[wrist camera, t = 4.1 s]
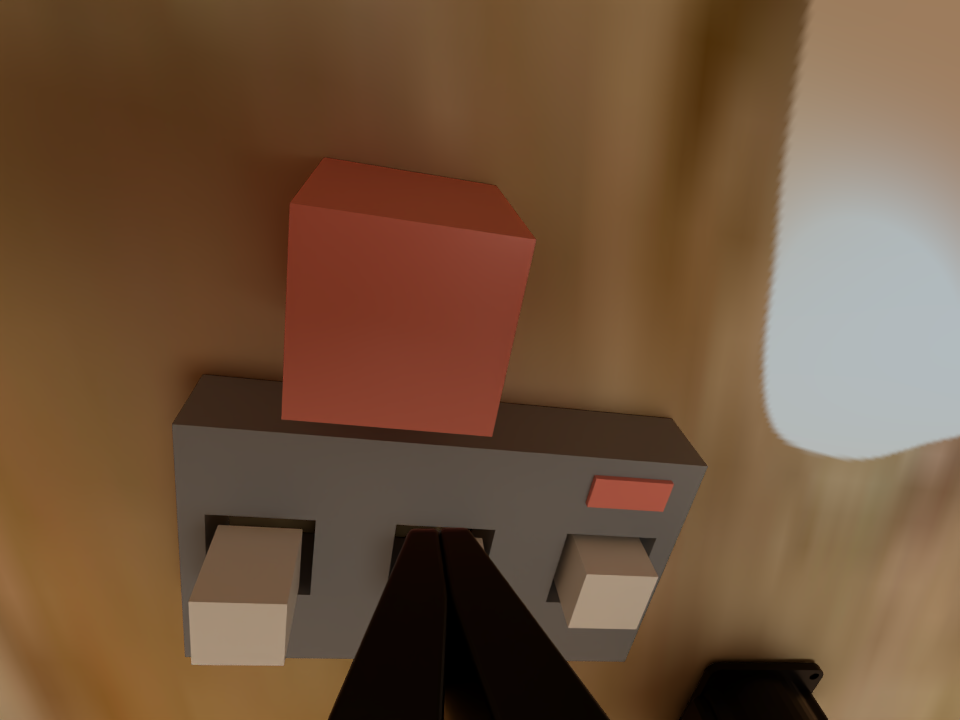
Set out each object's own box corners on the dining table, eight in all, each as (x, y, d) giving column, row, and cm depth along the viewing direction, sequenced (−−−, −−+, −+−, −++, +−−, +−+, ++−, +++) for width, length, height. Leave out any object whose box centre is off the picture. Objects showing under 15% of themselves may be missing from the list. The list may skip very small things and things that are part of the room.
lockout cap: (496, 185, 18) (536, 239, 13) (467, 336, 20) (492, 436, 15) (324, 157, 17) (289, 203, 12) (313, 319, 19) (281, 419, 14)
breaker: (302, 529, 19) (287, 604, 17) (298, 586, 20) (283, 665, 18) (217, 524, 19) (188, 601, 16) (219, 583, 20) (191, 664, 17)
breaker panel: (672, 418, 23) (710, 470, 20) (602, 602, 27) (626, 665, 24) (202, 374, 20) (169, 427, 17) (208, 590, 24) (183, 661, 21)
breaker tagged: (628, 516, 23) (658, 576, 20) (610, 566, 24) (636, 629, 21) (564, 512, 22) (586, 574, 20) (549, 563, 24) (568, 627, 21)
